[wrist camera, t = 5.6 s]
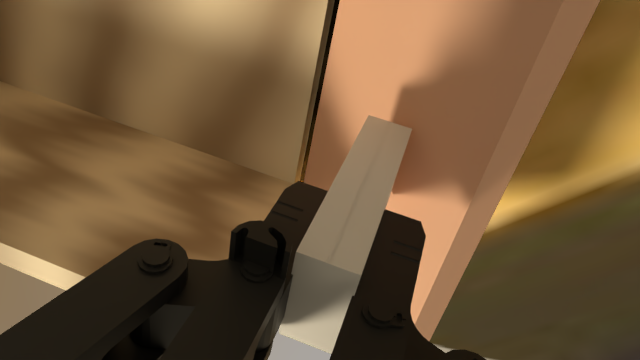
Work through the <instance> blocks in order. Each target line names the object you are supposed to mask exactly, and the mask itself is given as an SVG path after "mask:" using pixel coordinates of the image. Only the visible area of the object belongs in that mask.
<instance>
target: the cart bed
mask: <svg viewBox="0 0 640 360" xmlns="http://www.w3.org/2000/svg"><path fill="white" fill-rule="evenodd" d="M334 2H335V0H0V263H1V264H4V265H6V266H9V267H11V268H13V269H16V270H18V271H21V272H23V273H25V274H28V275H30V276H33V277H35V278H37V279H40V280H42V281H45V282H47V283H50V284H52V285H54V286H57V287H59V288H61V289H64V290H68V289H69V288H71V287H72V286H74V285H75V284H77V283H78V282H80V281H81V280H83V279H84V278H86V277H87V276H89V275H90V274H92V273H93V272H95V271H96V270H98V269H99V268H101V267H102V266H104V265H105V264H107V263H108V262H109V261H111V260H112V259H114V258H115V257H117V256H118V255H120V254H121V253H123V252H124V251H126V250H127V249H129V248H130V247H132V246H133V245H135V244H138V243H140V242H142V241H144V240H150V239H156V238H157V239H167V240H170V241H173V242H175V243H178V244H179V245H180V246H181V247H182V248H183V249H184V250H186V253H187V256H188V259H197V260H207V261H219V260H225V259H228V258H229V248H230V238H231V231H232V230H233V229H234V228H235V227H237V226H238V225H239V224H242V223H245V222H248V221H258V220H262V221H264V220H265V218H266V217H267V215H268V214H269V213H270V211H271V209H272V207H273V206H274V204H275V203H276V202H277V200H278V198H279V197H280V195H281V194H282V192H283V191H284V189H285V188H287V187H289V186H291V185H293V184H294V183H296V182H298V181H300V178H301V172H302V167H303V162H304V157H305V152H306V147H307V141H308V136H309V131H310V126H311V121H312V116H313V110H314V105H315V100H316V95H317V90H318V84H319V79H320V74H321V69H322V64H323V59H324V53H325V48H326V43H327V38H328V33H329V27H330V22H331V17H332V12H333V7H334Z"/></svg>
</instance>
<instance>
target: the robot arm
mask: <svg viewBox="0 0 640 360" xmlns="http://www.w3.org/2000/svg"><path fill="white" fill-rule="evenodd" d="M411 131H412V129H411V128H408V127H405V126H402V125H399V124H396V123H392V122H389V121H386V120H383V119H380V118H377V117H374V116H370V115H368V117H367V119H366V121H365V123H364V125H363V127H362V129H361V130H360V132H359V134H358V136H357V138H356V140H355V142H354V144H353V145H352V147H351V149H350V151H349V153H348V155H347V157H346V159H345V160H344V162H343V164H342V166H341V168H340V170H339V172H338V174H337V176H336V177H335V179H334V181H333V183H332V185H331V187H330V189H329V191H327V190H324V189H321V188H318V187H315V186H312V185H309V184H306V183H303V182H300V181H298V182H296V183H294V184H293V185H291V186H289V187H287V188H285V189H284V191H283V192H282V194H281V195H280V197H279V198H278V200H277V202H276V203H275V204H274V206H273V207H272V209H271V211H270V213H269V214H268V215H267V217H266V218H265V220H264V221H262V220H258V221H248V222H245V223H242V224H239V225H238V226H237V227H235V228H234V229H233V230H232V231H231V238H230V248H229V258H228V259H225V260H219V261H207V260H197V259H188V256H187V253H186V250H184V249H183V248H182V247H181V246H180V245H179V244H178V243H175V242H173V241H170V240H167V239H157V238H156V239H150V240H144V241H142V242H140V243H138V244H135V245H133V246H132V247H130V248H129V249H127V250H126V251H124V252H123V253H121V254H120V255H118V256H117V257H115V258H114V259H112V260H111V261H109V262H108V263H107V264H105V265H104V266H102V267H101V268H99V269H98V270H96V271H95V272H93V273H92V274H90V275H89V276H87V277H86V278H84V279H83V280H81V281H80V282H78V283H77V284H75V285H74V286H72V287H71V288H69V289H68V290H66V291H65V292H63V293H62V294H60V295H59V296H57V297H56V298H54V299H53V300H51V301H50V302H49V303H47V304H46V305H44V306H43V307H41V308H40V309H38V310H37V311H35V312H34V313H32V314H31V315H29V316H28V317H26V318H25V319H23V320H22V321H20V322H19V323H17V324H16V325H14V326H13V327H11V328H10V329H8V330H7V331H5V332H4V333H2V334H1V335H0V360H267V359H268V357H269V355H270V352H271V348H272V343H273V339H274V337H275V335H276V333H277V331H278V329H279V326H280V325H281V326H280V330H279V333H280V334H282V335H285V336H287V337H289V338H292V339H295V340H297V341H300V342H302V343H305V344H307V345H309V346H312V347H315V348H317V349H320V350H323V351H325V352H328V353H330V354H331V357H330V360H486V359H484V358H483V357H482V356H480V355H479V354H476V353H473V352H470V351H467V350H452V351H450V352H447V353H444V352H443V351H442V350H440V349H439V348H437V347H436V346H435V345H433V344H432V343H430V342H429V341H428V340H427V339H426V338H424V337H423V336H422V334H421V333H420V332H419V331H418V330H417V328H416V326H415V324H414V323H413V321H412V317H411V303H412V298H413V293H414V289H415V284H416V280H417V275H418V271H419V266H420V261H421V257H422V252H423V248H424V243H425V239H426V235H425V232H424V229H423V226H422V223H421V221H418V220H415V219H412V218H409V217H407V216H404V215H401V214H398V213H395V212H392V211H389V210H386V206H387V203H388V200H389V197H390V194H391V191H392V188H393V185H394V182H395V179H396V176H397V173H398V170H399V167H400V164H401V161H402V158H403V155H404V152H405V149H406V146H407V143H408V140H409V137H410V134H411Z"/></svg>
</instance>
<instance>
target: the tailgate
mask: <svg viewBox="0 0 640 360" xmlns="http://www.w3.org/2000/svg"><path fill="white" fill-rule="evenodd" d="M599 2H600V0H340V2H339V7H338V12H337V17H336V22H335V27H334V32H333V37H332V42H331V47H330V52H329V57H328V62H327V67H326V72H325V77H324V82H323V87H322V92H321V97H320V102H319V107H318V112H317V117H316V122H315V127H314V133H313V138H312V143H311V148H310V153H309V158H308V163H307V168H306V173H305V178H304V183H306V184H309V185H312V186H315V187H318V188H321V189H324V190H327V191H329V189H330V187H331V185H332V183H333V181H334V179H335V177H336V176H337V174H338V172H339V170H340V168H341V166H342V164H343V162H344V160H345V159H346V157H347V155H348V153H349V151H350V149H351V147H352V145H353V144H354V142H355V140H356V138H357V136H358V134H359V132H360V130H361V129H362V127H363V125H364V123H365V121H366V119H367V117H368V115H370V116H374V117H377V118H380V119H383V120H386V121H389V122H392V123H396V124H399V125H402V126H405V127H408V128H411V129H412V131H411V134H410V137H409V140H408V143H407V146H406V149H405V152H404V155H403V158H402V161H401V164H400V167H399V170H398V173H397V176H396V179H395V182H394V185H393V188H392V191H391V194H390V197H389V200H388V203H387V206H386V210H389V211H392V212H395V213H398V214H401V215H404V216H407V217H409V218H412V219H415V220H418V221H421V223H422V226H423V229H424V232H425V235H426V239H425V243H424V248H423V252H422V257H421V261H420V266H419V271H418V275H417V280H416V284H415V289H414V293H413V298H412V303H411V317H412V321H413V323H414V324H415V326H416V328H417V330H418V331H419V332H420V333H421V334H422V336H423V337H424V338H426V339H427V340H428V341H430V339H431V337H432V335H433V333H434V331H435V329H436V327H437V325H438V323H439V321H440V319H441V317H442V315H443V313H444V311H445V309H446V307H447V305H448V303H449V301H450V299H451V297H452V295H453V293H454V291H455V289H456V287H457V285H458V283H459V281H460V279H461V277H462V275H463V273H464V271H465V269H466V267H467V265H468V263H469V261H470V259H471V257H472V255H473V253H474V251H475V249H476V247H477V245H478V243H479V241H480V239H481V237H482V235H483V233H484V231H485V229H486V227H487V225H488V223H489V221H490V219H491V217H492V215H493V213H494V211H495V209H496V207H497V205H498V203H499V201H500V199H501V197H502V195H503V193H504V191H505V189H506V187H507V185H508V183H509V181H510V179H511V177H512V175H513V173H514V171H515V169H516V167H517V165H518V163H519V161H520V159H521V157H522V155H523V153H524V151H525V149H526V147H527V145H528V143H529V141H530V139H531V137H532V135H533V133H534V131H535V129H536V127H537V125H538V123H539V121H540V120H541V118H542V116H543V114H544V112H545V110H546V108H547V106H548V104H549V102H550V100H551V98H552V96H553V94H554V92H555V90H556V88H557V86H558V84H559V82H560V80H561V78H562V76H563V74H564V72H565V70H566V68H567V66H568V64H569V62H570V60H571V58H572V56H573V54H574V52H575V50H576V48H577V46H578V44H579V42H580V40H581V38H582V36H583V34H584V32H585V30H586V28H587V26H588V24H589V22H590V20H591V18H592V16H593V14H594V12H595V10H596V8H597V6H598V4H599Z"/></svg>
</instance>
